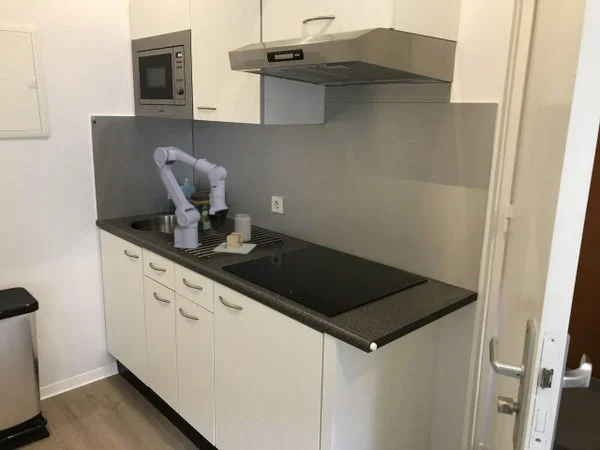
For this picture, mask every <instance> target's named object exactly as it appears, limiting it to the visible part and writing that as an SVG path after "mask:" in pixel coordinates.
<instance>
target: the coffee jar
mask: <svg viewBox="0 0 600 450" xmlns="http://www.w3.org/2000/svg"><path fill="white" fill-rule="evenodd" d="M189 202H190V204H191V205H193V206H194V208H195V209H196V210H197V211H198V212H199V213H200V220H199V222H198V225H197V226H198V231H199V232H200V231H202V232H205V231H208V230H210V229H211V223H210V220H209V218H208V216H207V213H209V210H210V202H211V198H210V195H209V194H208V193H203V192H201V191H195V192H191V194H190V201H189Z"/></svg>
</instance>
